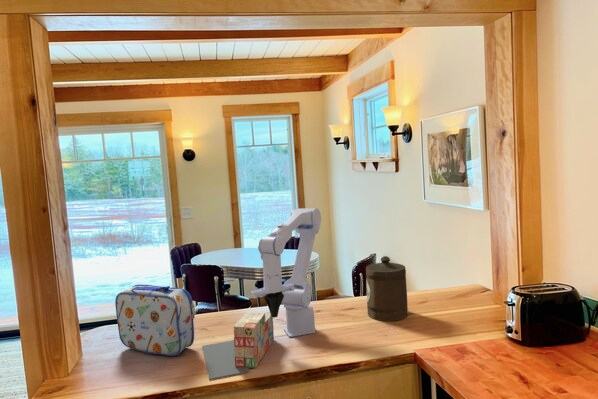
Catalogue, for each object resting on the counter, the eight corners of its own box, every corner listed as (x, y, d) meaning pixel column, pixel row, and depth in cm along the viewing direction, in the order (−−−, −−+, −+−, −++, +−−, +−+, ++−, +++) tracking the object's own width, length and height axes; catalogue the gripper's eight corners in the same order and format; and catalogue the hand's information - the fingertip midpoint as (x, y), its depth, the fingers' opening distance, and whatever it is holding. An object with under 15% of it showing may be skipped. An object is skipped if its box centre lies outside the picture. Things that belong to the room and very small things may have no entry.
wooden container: (378, 305, 176) (375, 251, 174) (413, 311, 167) (411, 254, 165) (360, 317, 164) (358, 259, 162) (398, 324, 155) (395, 263, 153)
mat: (235, 341, 148) (235, 339, 148) (248, 372, 125) (248, 371, 125) (202, 346, 145) (202, 345, 145) (209, 380, 122) (209, 378, 122)
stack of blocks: (256, 338, 149) (255, 302, 148) (274, 339, 148) (273, 303, 147) (234, 366, 128) (233, 325, 127) (255, 368, 127) (254, 326, 126)
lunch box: (203, 347, 145) (198, 281, 143) (184, 361, 135) (179, 291, 133) (137, 339, 155) (132, 277, 153) (115, 351, 145) (109, 286, 143)
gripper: (285, 268, 146) (287, 308, 147) (246, 275, 139) (248, 317, 139) (297, 272, 140) (298, 314, 141) (256, 279, 133) (258, 323, 133)
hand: (274, 316), depth 140 cm, fingers closed
